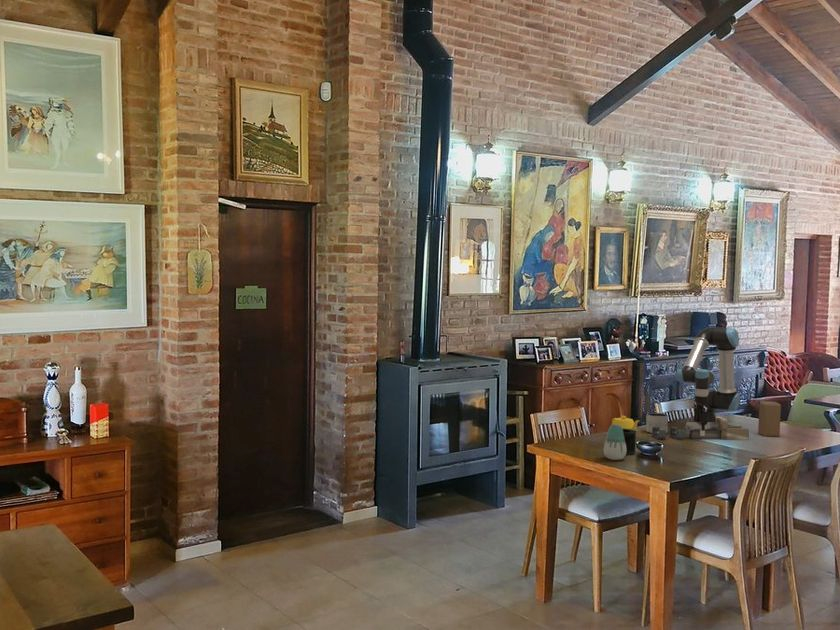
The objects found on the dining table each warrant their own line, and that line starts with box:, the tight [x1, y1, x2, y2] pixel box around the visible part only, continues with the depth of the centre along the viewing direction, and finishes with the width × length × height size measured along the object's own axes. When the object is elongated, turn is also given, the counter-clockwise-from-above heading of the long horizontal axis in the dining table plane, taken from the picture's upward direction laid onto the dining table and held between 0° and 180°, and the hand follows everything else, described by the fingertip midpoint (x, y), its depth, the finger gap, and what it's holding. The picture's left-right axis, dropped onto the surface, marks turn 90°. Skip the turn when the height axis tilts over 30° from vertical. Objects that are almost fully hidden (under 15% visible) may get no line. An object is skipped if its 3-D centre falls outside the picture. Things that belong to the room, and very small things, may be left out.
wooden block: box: [757, 400, 782, 438], centre depth 492 cm, size 10×10×20 cm
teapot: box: [611, 415, 640, 431], centre depth 473 cm, size 14×20×13 cm
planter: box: [645, 412, 669, 434], centre depth 493 cm, size 13×13×11 cm
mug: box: [623, 429, 638, 455], centre depth 434 cm, size 11×15×12 cm
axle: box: [685, 421, 719, 432], centre depth 478 cm, size 18×5×5 cm, turn 96°
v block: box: [651, 426, 685, 441], centre depth 476 cm, size 11×15×6 cm
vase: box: [603, 423, 627, 461], centre depth 417 cm, size 12×12×18 cm
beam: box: [688, 416, 750, 441], centre depth 479 cm, size 9×35×12 cm, turn 96°
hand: (699, 434), depth 478 cm, fingers closed on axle, 5 cm apart
